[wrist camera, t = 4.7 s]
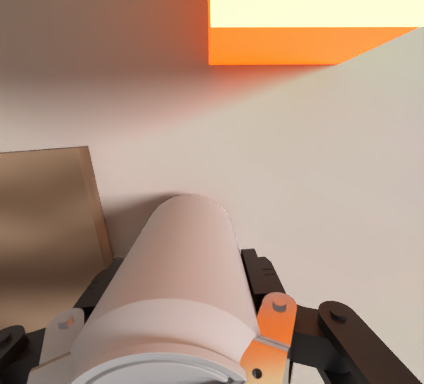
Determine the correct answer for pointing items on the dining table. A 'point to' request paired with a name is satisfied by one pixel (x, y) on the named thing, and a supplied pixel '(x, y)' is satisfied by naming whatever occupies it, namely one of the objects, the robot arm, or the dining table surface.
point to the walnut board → (48, 234)
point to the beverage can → (172, 304)
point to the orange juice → (304, 29)
